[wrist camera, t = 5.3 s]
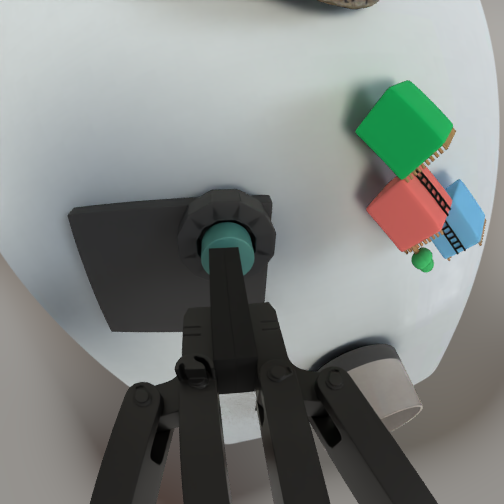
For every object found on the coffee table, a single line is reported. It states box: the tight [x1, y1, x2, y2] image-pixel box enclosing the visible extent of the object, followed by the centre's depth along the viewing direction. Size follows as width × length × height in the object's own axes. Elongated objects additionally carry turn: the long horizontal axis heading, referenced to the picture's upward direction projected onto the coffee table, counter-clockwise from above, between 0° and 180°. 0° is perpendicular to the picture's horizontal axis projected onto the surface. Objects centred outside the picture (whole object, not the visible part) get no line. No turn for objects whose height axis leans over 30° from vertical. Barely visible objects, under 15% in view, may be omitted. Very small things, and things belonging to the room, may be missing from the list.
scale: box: [68, 189, 276, 332], centre depth 19 cm, size 14×13×3 cm
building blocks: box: [356, 80, 486, 272], centre depth 15 cm, size 8×8×12 cm
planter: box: [317, 344, 423, 451], centre depth 29 cm, size 13×13×10 cm
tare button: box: [201, 222, 254, 275], centre depth 16 cm, size 3×3×2 cm
